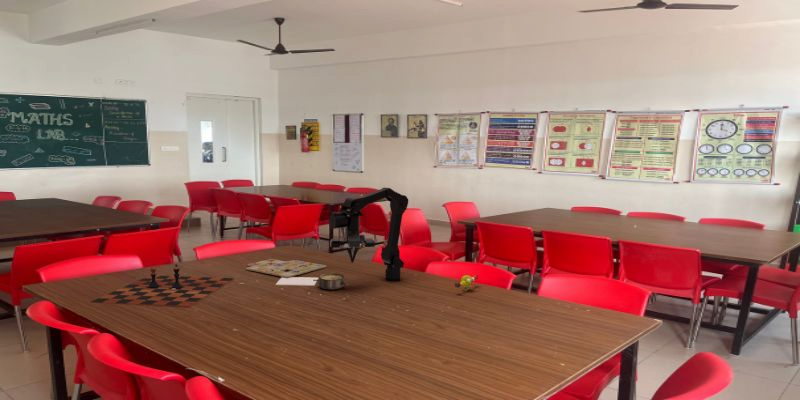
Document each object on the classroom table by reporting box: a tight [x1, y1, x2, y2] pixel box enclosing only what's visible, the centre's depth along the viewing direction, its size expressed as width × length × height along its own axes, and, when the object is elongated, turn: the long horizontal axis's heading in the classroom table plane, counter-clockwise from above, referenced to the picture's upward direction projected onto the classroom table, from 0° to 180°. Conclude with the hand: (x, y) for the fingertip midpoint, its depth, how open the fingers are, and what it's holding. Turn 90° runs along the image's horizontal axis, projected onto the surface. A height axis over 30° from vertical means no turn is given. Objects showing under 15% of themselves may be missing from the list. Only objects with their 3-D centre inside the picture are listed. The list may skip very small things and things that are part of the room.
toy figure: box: [454, 274, 479, 292], centre depth 220 cm, size 18×6×7 cm, turn 143°
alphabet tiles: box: [245, 258, 327, 278], centre depth 253 cm, size 33×28×1 cm
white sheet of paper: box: [275, 276, 319, 287], centre depth 229 cm, size 17×12×1 cm
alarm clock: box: [313, 272, 351, 291], centre depth 220 cm, size 11×5×16 cm
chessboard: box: [90, 263, 235, 308], centre depth 212 cm, size 40×40×11 cm
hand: (352, 262), depth 221 cm, fingers closed
